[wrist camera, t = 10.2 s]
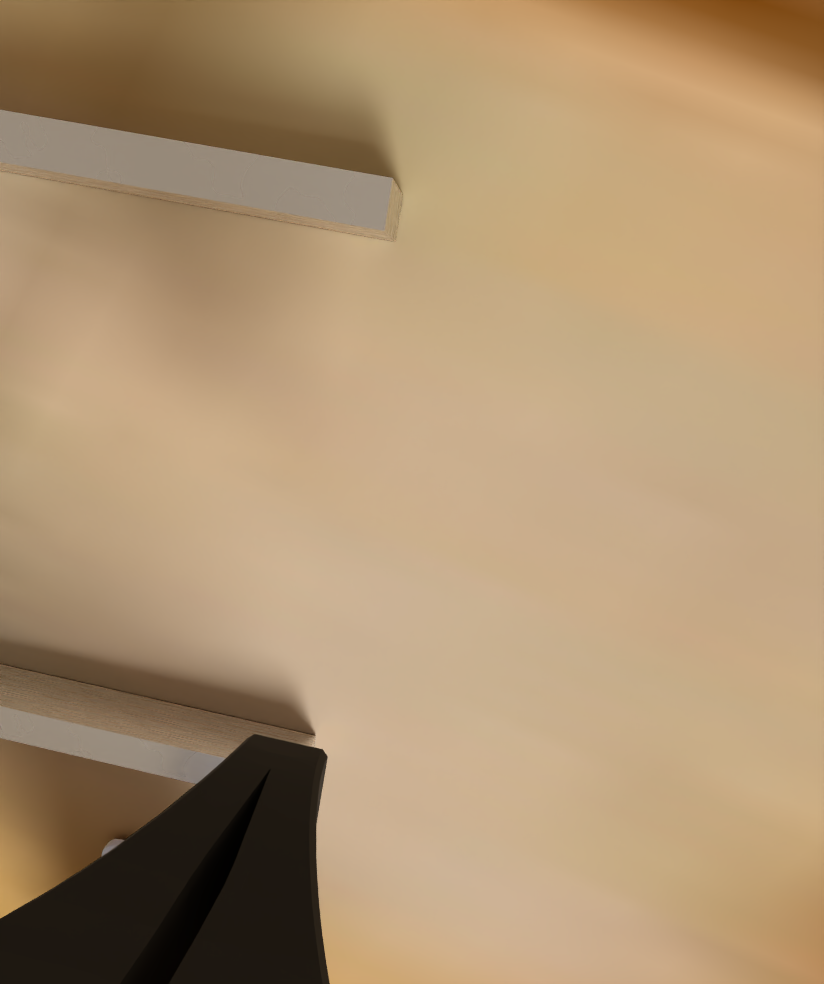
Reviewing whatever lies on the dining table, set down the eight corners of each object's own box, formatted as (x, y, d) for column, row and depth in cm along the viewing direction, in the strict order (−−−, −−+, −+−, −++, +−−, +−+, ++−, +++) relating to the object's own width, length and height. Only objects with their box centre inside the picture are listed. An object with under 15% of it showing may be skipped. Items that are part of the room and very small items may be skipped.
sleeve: (310, 769, 22) (273, 863, 18) (-89, 677, 23) (-204, 748, 19) (404, 186, 17) (381, 145, 13) (-109, 97, 18) (-272, 33, 14)
